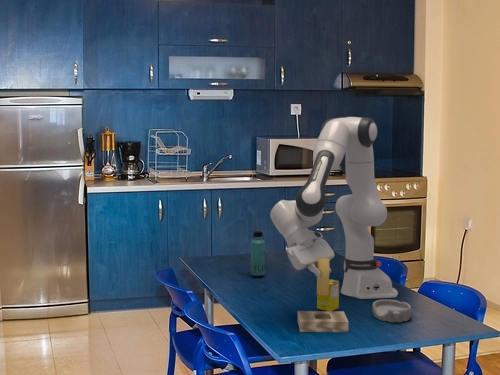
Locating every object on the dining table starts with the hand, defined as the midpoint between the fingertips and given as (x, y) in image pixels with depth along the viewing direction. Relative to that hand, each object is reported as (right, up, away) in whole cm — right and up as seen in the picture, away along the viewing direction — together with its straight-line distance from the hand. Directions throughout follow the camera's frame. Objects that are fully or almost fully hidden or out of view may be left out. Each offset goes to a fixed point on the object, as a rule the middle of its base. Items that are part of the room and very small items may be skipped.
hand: (324, 274), depth 242 cm
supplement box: (+3, -16, +22) cm, 27 cm away
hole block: (-1, -18, +3) cm, 18 cm away
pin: (-1, -7, +1) cm, 7 cm away
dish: (+25, -17, +14) cm, 34 cm away
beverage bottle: (-22, -10, +70) cm, 74 cm away
